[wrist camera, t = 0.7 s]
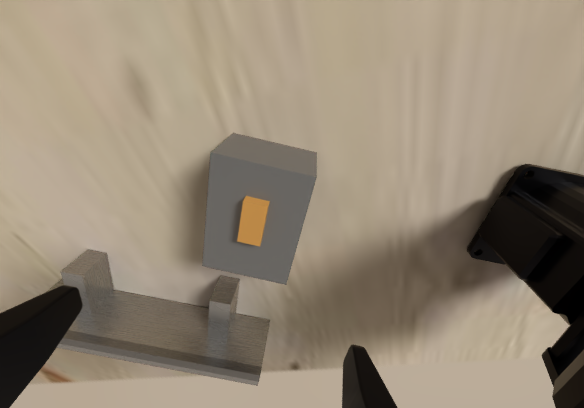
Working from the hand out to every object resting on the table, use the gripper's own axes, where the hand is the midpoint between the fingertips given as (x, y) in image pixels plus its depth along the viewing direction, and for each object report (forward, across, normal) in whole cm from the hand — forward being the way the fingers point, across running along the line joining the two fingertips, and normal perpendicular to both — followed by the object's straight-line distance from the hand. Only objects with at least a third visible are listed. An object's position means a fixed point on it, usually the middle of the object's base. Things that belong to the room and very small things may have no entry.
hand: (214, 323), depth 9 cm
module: (+10, 0, 0) cm, 10 cm away
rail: (+10, +7, +11) cm, 16 cm away
